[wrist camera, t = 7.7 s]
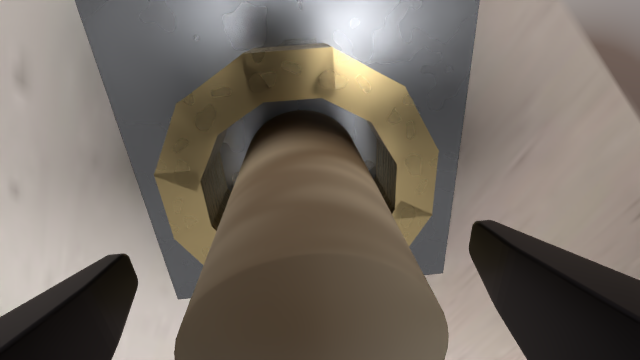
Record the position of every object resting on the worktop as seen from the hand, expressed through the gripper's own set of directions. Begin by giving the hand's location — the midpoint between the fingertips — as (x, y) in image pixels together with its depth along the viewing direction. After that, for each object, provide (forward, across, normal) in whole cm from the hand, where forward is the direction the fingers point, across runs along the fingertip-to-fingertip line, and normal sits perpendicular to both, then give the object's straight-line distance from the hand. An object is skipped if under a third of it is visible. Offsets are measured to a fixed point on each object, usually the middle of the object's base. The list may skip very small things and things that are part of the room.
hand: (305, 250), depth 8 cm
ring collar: (+7, 0, 0) cm, 7 cm away
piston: (+6, 0, 0) cm, 6 cm away
